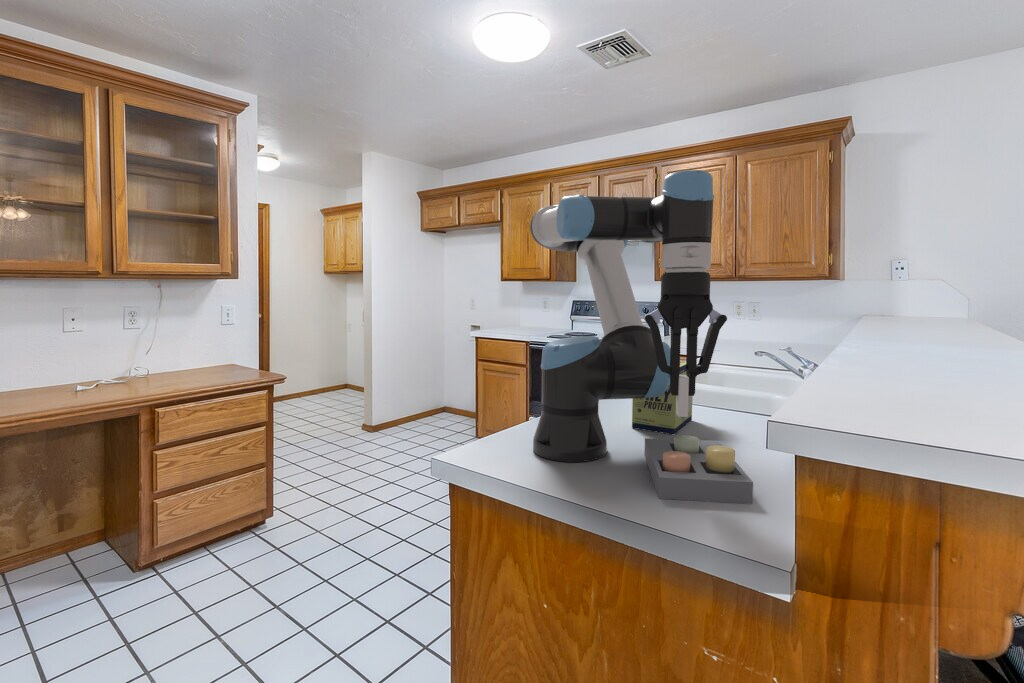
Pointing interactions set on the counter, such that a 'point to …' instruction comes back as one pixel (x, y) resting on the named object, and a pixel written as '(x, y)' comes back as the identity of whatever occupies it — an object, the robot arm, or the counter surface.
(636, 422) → the protein box
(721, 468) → the mustard button
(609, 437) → the counter surface
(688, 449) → the sage button
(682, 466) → the terracotta button
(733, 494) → the console
